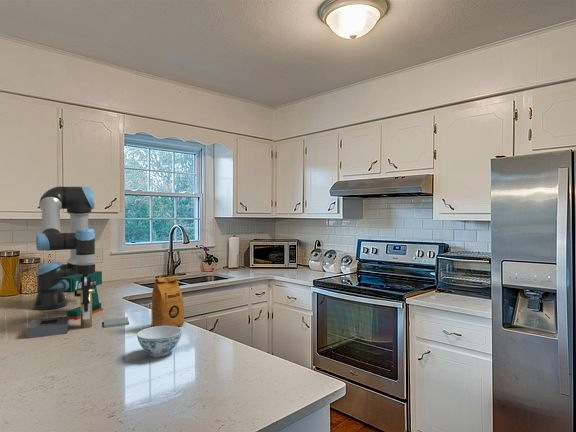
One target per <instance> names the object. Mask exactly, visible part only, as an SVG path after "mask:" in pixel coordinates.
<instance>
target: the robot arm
mask: <svg viewBox="0 0 576 432" xmlns="http://www.w3.org/2000/svg"><path fill="white" fill-rule="evenodd" d="M38 204H39V206H38V207H39V209H40V210H41V233H37V234H36V236H35V237H36V238H35V241H36V242H35V243H36V244H35V247H36V250H37V251H39V252H40V251H45V252H46V251H47V252H48V251H64V250H65V251H67V250H70V256H69V259H67V260H66V263H63V261H55V262H48V263H45V264H41V265H39V266H38V267H37V269H36V271H37V272H36V277H37V278H36V279H37V280H36V281H37V284H36V285H37V288H36V289H37V294H36V296H35V299H34V303H33V309H34V310H35V311H36V310H37V311H48V310H55V309H60V308H64V307H66V306H67V305H68V302H67V298H66V296H65V292H59V291H58V290H53V289H49V288H51V287H53V286H55V285H56V283H57V282H58V278H61V277H66V276H70V275H75V274H83V277H81V288H83V302H82V303H81V305H83V319H90V302H89V288H90V281H91V277H89V273H94V272H95V271H96V264H95V263H96V234H95V229H94V228H89V215H90V214H91V213H92V210H94V209H95V198H94V193H93V190H92V188H91V187H87V186H61V185H60V186H55V187H52V188H50V189H47V191H45V192H44V193H43V194H42V195H41V197H40V198H39V203H38ZM60 210H66V213H67V214H68V215H69V217H70V219H69V220H70V221H69V223H70V225H69V226H70V227H69V230H70V232H62V231H61V229H62V228H61V212H60ZM86 300H87V301H86Z"/></svg>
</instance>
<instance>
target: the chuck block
mask: <svg viewBox="0 0 576 432" xmlns="http://www.w3.org/2000/svg"><path fill="white" fill-rule="evenodd" d="M69 328H70V319H69V316H67V315H65V316H57V317H47V318H46V317H45V318H37V319H31V321H30V323H29V324H28V325H27V327H26V339H33V338H40V337H41V338H43V337H49V336H58V335H66V334H68V333H69V332H68V331H69Z"/></svg>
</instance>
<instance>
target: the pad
mask: <svg viewBox="0 0 576 432" xmlns="http://www.w3.org/2000/svg"><path fill="white" fill-rule="evenodd" d="M128 325H130V321H129V317H127V316H125V317H118V318H116V317H115V318H108V319H103V326H104V329H105V328H106V329H107V328H111V327H112V328H113V327H121V326H128Z"/></svg>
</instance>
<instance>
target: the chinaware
mask: <svg viewBox="0 0 576 432" xmlns="http://www.w3.org/2000/svg"><path fill="white" fill-rule="evenodd" d="M182 333H183V329H182V328H181V327H180V326H178V327H176V326H156V327H147V328H144V329H141V330H139V331H138V332H137V334H136V336H137V341H138V343H139V345H140V347H141V348H142V350H144V351H145V352H147V353H149V355H151V356H150V357H152V356H153V358H161V357H160V356H162V357H166V356H169V354H171V351H172V350H173V349H174V348H175V347H176V346H178V343H179V341H180V339H181V336H182ZM165 355H166V356H165Z"/></svg>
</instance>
